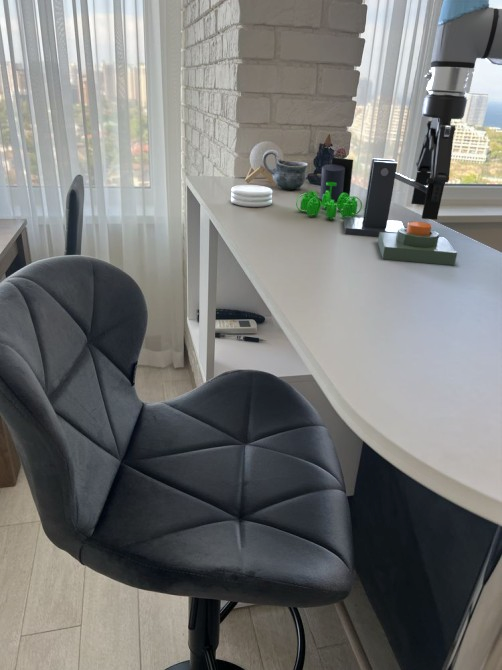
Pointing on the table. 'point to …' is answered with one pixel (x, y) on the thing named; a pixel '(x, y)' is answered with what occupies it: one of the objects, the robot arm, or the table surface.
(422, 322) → the table surface
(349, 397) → the table surface
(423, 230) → the stop button
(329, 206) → the chandelier
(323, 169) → the speaker
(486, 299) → the table surface
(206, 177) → the table surface
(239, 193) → the white stacked round discs
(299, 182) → the mug
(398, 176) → the switch lever
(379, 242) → the stop box
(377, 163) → the switch bracket
